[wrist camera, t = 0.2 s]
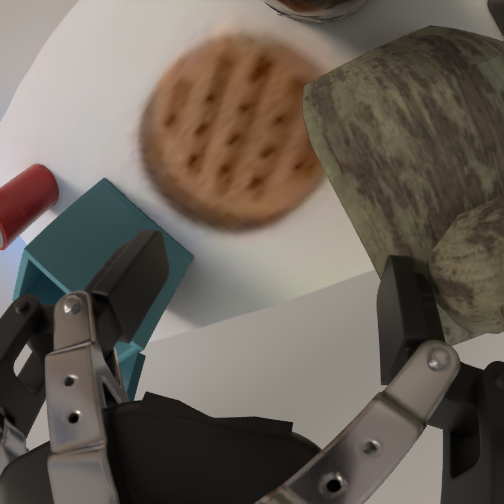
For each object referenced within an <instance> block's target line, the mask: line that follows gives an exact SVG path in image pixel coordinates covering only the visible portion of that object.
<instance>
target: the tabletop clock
mask: <svg viewBox="0 0 504 504" xmlns="http://www.w3.org/2000/svg"><path fill="white" fill-rule="evenodd" d="M302 110H303V118H304V122H305V125H306V129H307V133H308V137H309V141H310V143H311V145H312V147H313V149H314V151H315V153H316V155H317V157H318V159H319V161H320V163H321V165H322V167H323V169H324V171H325V173H326V175H327V177H328V179H329V181H330V183H331V185H332V186H333V188H334V190H335V192H336V194H337V196H338V198H339V200H340V202H341V204H342V206H343V208H344V209H345V211H346V213H347V215H348V217H349V219H350V221H351V223H352V224H353V226H354V228H355V230H356V232H357V234H358V236H359V238H360V240H361V242H362V244H363V246H364V247H365V249H366V251H367V253H368V255H369V257H370V259H371V261H372V263H373V265H374V267H375V269H376V271H377V274H378V275H379V278H380V280H381V278H382V274H383V271H384V267H385V263H386V260H387V257H388V255H397V256H406V257H410V258H411V261H412V265H413V269H414V272H416V273H423V275H424V276H425V277H426V278H427V280H428V281H429V282H430V284H431V286H432V290H433V293H434V298H435V301H436V304H437V306H436V307H437V308H438V312H439V316H440V320H441V324H442V328H443V333H444V337H445V342H446V343H447V344H449V345H450V346H453V345H455V344H458V343H461V342H464V341H467V340H469V339H472V338H475V337H477V336H480V335H483V334H485V333H494V334H499V333H501V332H504V42H502V41H500V40H497V39H493V38H490V37H486V36H483V35H479V34H475V33H471V32H467V31H463V30H458V29H453V28H446V27H439V26H428V27H425V28H423V29H420V30H418V31H415V32H413V33H410V34H408V35H406V36H403V37H401V38H399V39H397V40H394V41H392V42H390V43H388V44H385V45H383V46H381V47H379V48H377V49H375V50H372V51H370V52H368V53H366V54H364V55H362V56H360V57H358V58H356V59H354V60H352V61H350V62H348V63H346V64H344V65H342V66H340V67H338V68H336V69H334V70H332V71H331V72H329V73H327V74H325V75H323V76H321V77H319V78H318V79H316V80H314V81H312V82H310V83H309V84H307V85H305V86H304V90H303V97H302Z"/></svg>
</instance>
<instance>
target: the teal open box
mask: <svg viewBox="0 0 504 504" xmlns="http://www.w3.org/2000/svg"><path fill="white" fill-rule="evenodd" d="M140 230H153V231H160V232H161V233H162V234H163V238H164V242H165V247H166V252H167V256H168V261H169V267H170V270H169V276H168V279H167V281H166V283H165V284H164V286H163V288H162V289H161V291H160V293H159V294H158V296H157V298H156V299H155V301H154V303H153V304H152V306H151V308H150V310H149V311H148V313H147V315H146V316H145V318H144V320H143V322H142V323H141V325H140V327H139V328H138V330H137V332H136V334H135V335H134V337H133V339H132V341H131V343H130V344H127V343H124V342H120V341H118V342H117V343H116V345H115V348H116V350H117V355H118V359H119V364H120V363H122V362H123V361H125V360H126V359H128V358H130V357H131V356H133V355H134V354H136V353H138V352H141V351H142V350H144V349H145V347H146V345H147V343H148V341H149V339H150V337H151V335H152V333H153V331H154V329H155V328H156V326H157V324H158V322H159V320H160V318H161V316H162V314H163V312H164V311H165V309H166V307H167V305H168V303H169V301H170V299H171V298H172V296H173V294H174V292H175V290H176V288H177V287H178V285H179V283H180V281H181V279H182V278H183V276H184V274H185V272H186V270H187V268H188V267H189V265H190V263H191V261H192V260H193V258H194V256H192V255H191V254H190V253H189V252H188V251H187V250H185V249H184V248H183V247H182V246H181V245H180V244H178V243H177V242H176V241H175V240H174V239H173V238H172V237H170V236H169V235H168V234H167V233H166V232H165V231H163V230H162V229H161V228H160V227H159V226H158V225H157V224H155V223H154V222H153V221H152V220H151V219H150V218H149V217H148V216H146V215H145V214H144V213H143V212H142V211H141V210H140V209H138V208H137V207H136V206H135V205H134V204H133V203H132V202H131V201H130V200H128V199H127V198H126V197H125V196H124V195H123V194H122V193H121V192H120V191H118V190H117V189H116V188H115V187H114V186H113V185H112V184H111V183H110V182H109V181H107V180H106V179H105V178H103V179H102V180H101V181H99V182H98V183H97V184H96V185H94V186H93V187H92V188H91V189H90V190H88V191H87V192H86V193H85V194H84V195H82V196H81V197H80V198H79V199H78V200H76V201H75V202H74V203H73V204H72V205H71V206H69V207H68V208H67V209H66V210H65V211H64V212H63V213H61V214H60V215H59V216H58V217H57V218H56V219H55V220H54V221H53V222H51V223H50V224H49V225H48V226H47V227H46V228H45V229H44V230H43V231H42V232H41V233H40V234H39V235H38V236H37V237H35V238H34V239H33V240H32V241H31V242H30V243H29V244H28V245H27V246H26V247H25V248H24V252H23V255H22V259H21V263H20V268H19V272H18V276H17V280H16V285H15V290H14V295H13V302H14V301H15V300H16V299H17V298H19V297H20V296H22V295H25V294H34V295H36V296H37V298H38V299H39V301H40V303H41V305H53V304H57V302H58V301H59V300H60V299H61V298H62V297H63V296H64V295H66V294H68V293H70V292H73V291H83V290H84V289H85V288H86V286H87V285H88V284H89V282H90V281H91V280H92V279H93V277H94V276H95V275H96V274H97V273H98V271H99V270H100V269H101V268H102V266H103V267H104V264H105V263H106V262H107V260H108V259H110V257H111V256H112V254H113V253H114V252H115V251H116V250H117V248H119V247H120V246H122V245H124V244H125V243H127V242H128V241H131V240H132V239H133V238H134V236H135V235H136V234H137V233H138V232H139V231H140Z"/></svg>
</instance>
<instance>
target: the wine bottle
mask: <svg viewBox="0 0 504 504" xmlns="http://www.w3.org/2000/svg"><path fill="white" fill-rule="evenodd" d="M488 7H489V10H490V12H491V14H492V15H493V17H494V19H495V21H496V22H497V24H498V26H499V28H500V29H501V31H502V33H503V35H504V0H488Z"/></svg>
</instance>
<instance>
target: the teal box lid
mask: <svg viewBox="0 0 504 504" xmlns="http://www.w3.org/2000/svg"><path fill="white" fill-rule="evenodd" d="M145 357H146V356H145V355H143V354H141V353H139V352H138V353H136V354H134V355H133V356H131V357H130V358H128V359H126V360H125V361H123V362H122V363H120V369H121V373H122V378H123V382H124V386H125V390H126V393H127V396H128V398H129V400H130V401H134V398H135V394H136V390H137V386H138V382H139V379H140V375H141V371H142V367H143V364H144V361H145Z"/></svg>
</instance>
